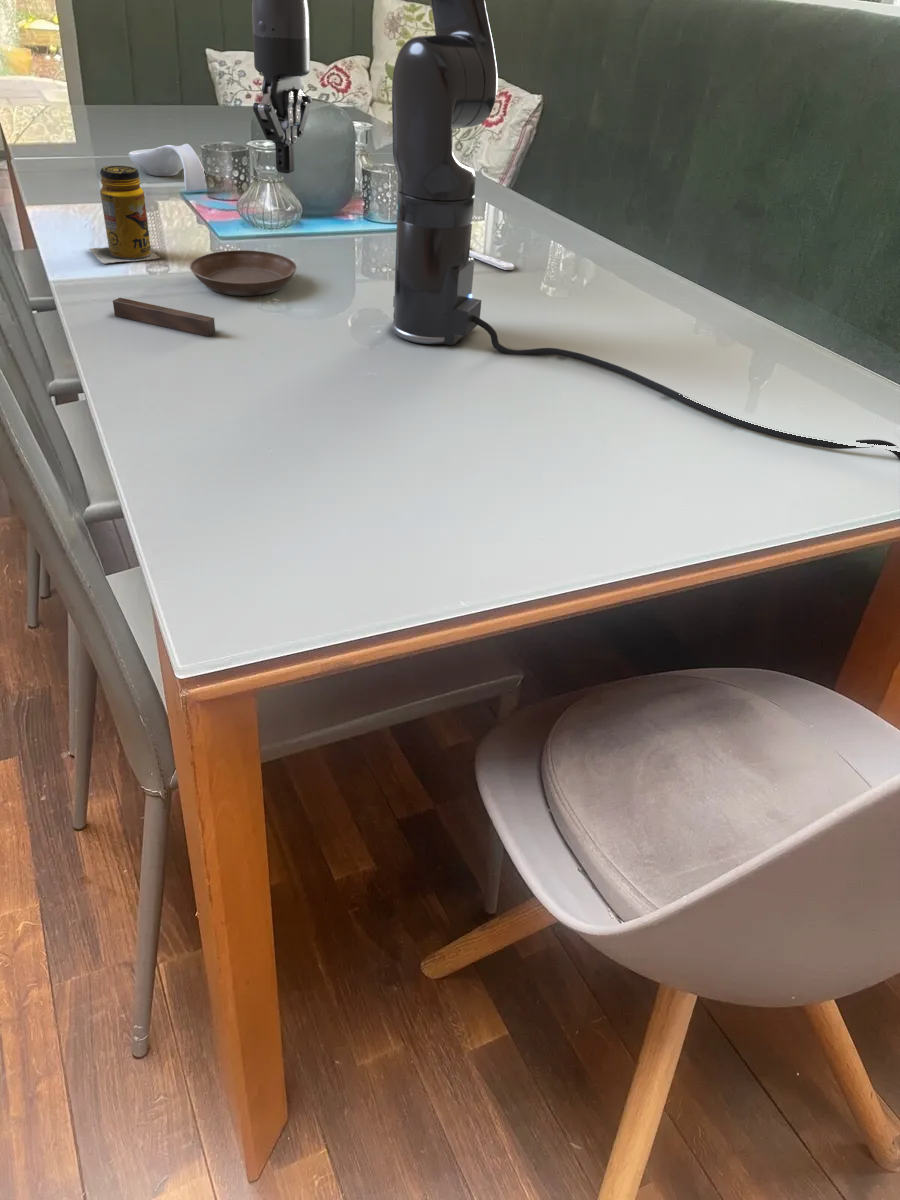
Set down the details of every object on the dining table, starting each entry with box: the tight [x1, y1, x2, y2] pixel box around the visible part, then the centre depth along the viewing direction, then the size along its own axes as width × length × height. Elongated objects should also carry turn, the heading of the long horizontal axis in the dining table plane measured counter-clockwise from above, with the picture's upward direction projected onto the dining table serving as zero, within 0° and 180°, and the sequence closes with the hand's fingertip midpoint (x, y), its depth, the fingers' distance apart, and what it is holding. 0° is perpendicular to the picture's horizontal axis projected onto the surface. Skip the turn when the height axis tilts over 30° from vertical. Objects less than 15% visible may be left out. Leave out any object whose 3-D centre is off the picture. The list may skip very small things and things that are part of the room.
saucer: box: [189, 249, 298, 297], centre depth 127 cm, size 15×15×3 cm
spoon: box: [469, 249, 515, 271], centre depth 147 cm, size 5×18×1 cm, turn 44°
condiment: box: [88, 164, 161, 264], centre depth 131 cm, size 7×8×12 cm
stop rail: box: [112, 297, 216, 337], centre depth 113 cm, size 14×2×2 cm, turn 69°
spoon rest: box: [128, 143, 208, 193], centre depth 173 cm, size 24×12×7 cm, turn 37°
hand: (285, 171), depth 130 cm, fingers closed
